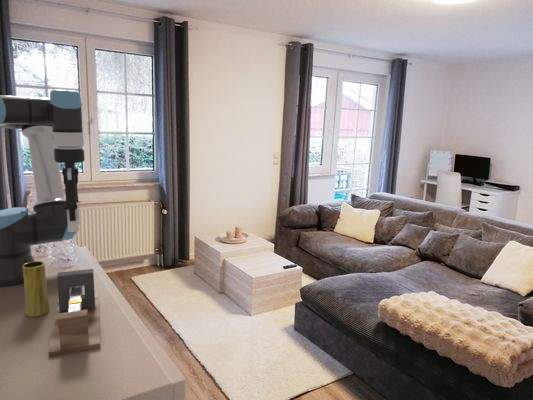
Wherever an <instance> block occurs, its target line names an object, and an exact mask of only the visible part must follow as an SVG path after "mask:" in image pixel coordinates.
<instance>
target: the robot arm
mask: <svg viewBox="0 0 533 400" xmlns="http://www.w3.org/2000/svg"><path fill="white" fill-rule="evenodd" d="M82 107H83V103H82V99H81V93H80V92H79V91H77V90H72V89H71V90H69V89H68V90H67V89H52V90H50V92H49V97H44V96H26V95H25V96H24V95H23V96H22V95H9V94H8V95H7V94H5V95H0V128H4V129H9V130H11V129H13V130H17V129H18V130H21V133H22V135H23V136H24V137H25V138H27V140H28V147H29V155H30V160H31V168H32V169H31V170H32V174H33V181H34V188H35V195H36V202H35V203H34V205H33V207H32V209H33V210H32V211H31V210H30V211H29V210H28V208H27V207H24V206H21V207H19V206H17V207H10V208H5V209H0V287H6V286H7V287H8V286H14V285H20V284H24V277H23V268H22V266H23V265H24V264H25V263H28V262H33V261H36V260H35V258H34V256H33V254H32V246H35V245H43V244H49V243H55V242H57V243H58V242H60V243H61V242H64V241H69V240H72V239H74V237H75V236H76V234H77V232H78V233H79V231H80V225H81V224H80V209H79V207H80V205H79V203H82V202H81V201H82V200H81V199H80V198H79V195H78V194H79V193H78V184H79V168H78V167H77V166H76V164H79V163H84V162H85V149H84V148H83V147H84V146H85V141H84V132H83V131H84V130H83V111H82ZM60 164H64V168H62V169H60V168H61V167H60ZM61 173H62V175H61ZM62 176H63V181H62ZM63 185H64V187H63ZM64 189H65V191H64ZM64 192H65V193H64Z"/></svg>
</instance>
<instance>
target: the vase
mask: <svg viewBox="0 0 533 400" xmlns="http://www.w3.org/2000/svg"><path fill="white" fill-rule="evenodd" d="M45 264H46V263H45V262H44V261H40V260H35V261H33V262H28V263H25V264H24V265H23V266H22V268H23V277H24V283H23V284H24V285H23V287H24V289H23V290H24V304H25V311H24V314H25V316H26V317H29V318H30V317H31V318H36V317H41V316H43V315H45V314H48V313H49V312H50V309H51V307H50V301H49V295H48V284H47V278H46V277H47V276H46V275H47V274H46V266H45Z"/></svg>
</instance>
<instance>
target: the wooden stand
mask: <svg viewBox="0 0 533 400" xmlns="http://www.w3.org/2000/svg"><path fill="white" fill-rule="evenodd" d="M82 295H84V294H83V293H82ZM55 309H56V310H55V316H54V320H53V325H52V331H51V336H50V342H49V347H48V353H47V354H48V358H51V357H56V356H61V355H63V356H64V355H68V354H73V353H80V352H85V351H90V350H95V349H96V350H97V349H101V328H100V323H101V322H100V321H101V320H100V297H99V296H98V297H97V296H95V306H90V307H83V308H82V310H80V311H73V312H68V310H62V311H59V301H58V302H57V303H56V308H55Z"/></svg>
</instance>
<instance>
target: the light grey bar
mask: <svg viewBox="0 0 533 400" xmlns="http://www.w3.org/2000/svg"><path fill="white" fill-rule="evenodd" d="M82 294H83V286H76V287H70V293H69V295H70V300H69V310H68V312H73V311H80V310H82Z"/></svg>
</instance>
